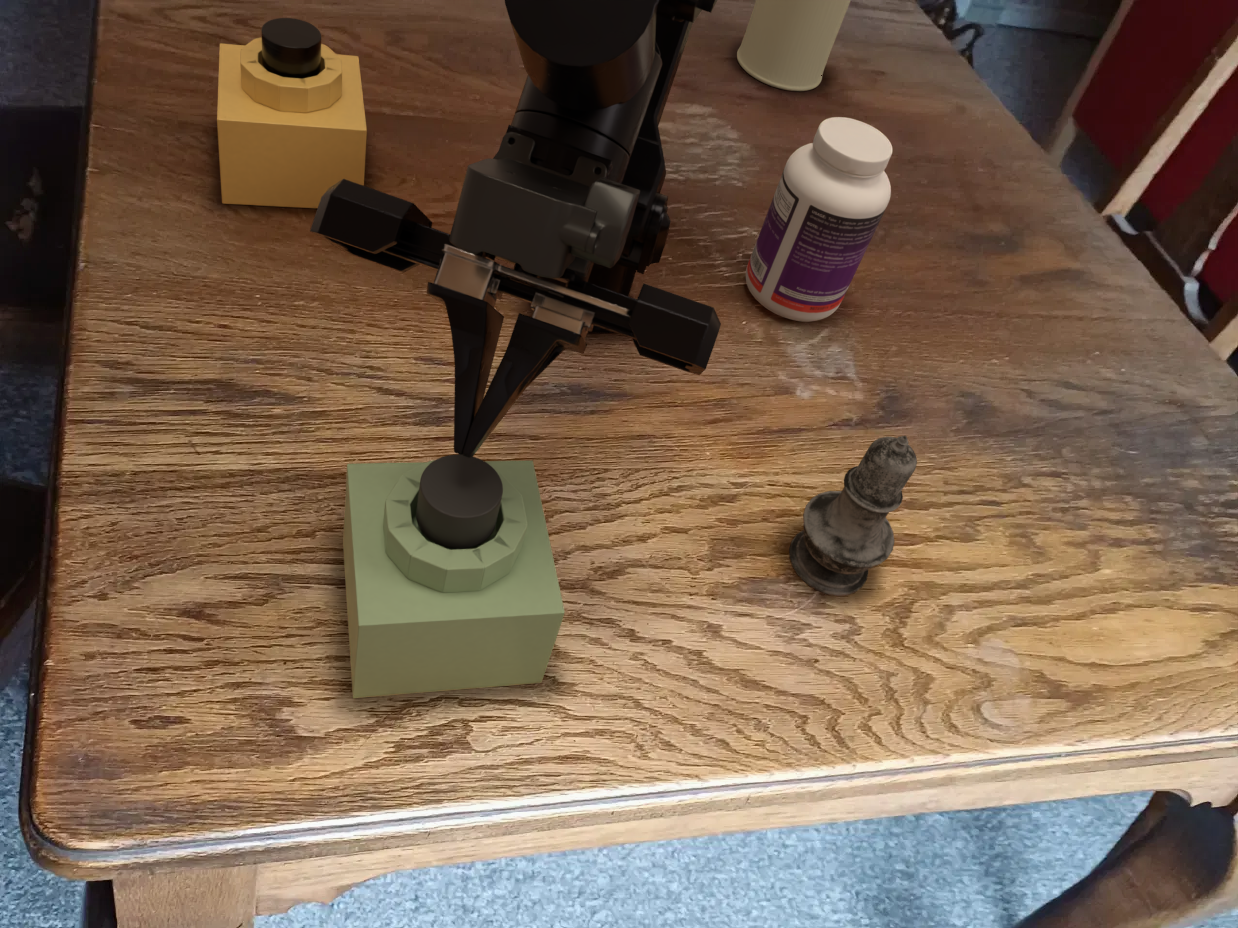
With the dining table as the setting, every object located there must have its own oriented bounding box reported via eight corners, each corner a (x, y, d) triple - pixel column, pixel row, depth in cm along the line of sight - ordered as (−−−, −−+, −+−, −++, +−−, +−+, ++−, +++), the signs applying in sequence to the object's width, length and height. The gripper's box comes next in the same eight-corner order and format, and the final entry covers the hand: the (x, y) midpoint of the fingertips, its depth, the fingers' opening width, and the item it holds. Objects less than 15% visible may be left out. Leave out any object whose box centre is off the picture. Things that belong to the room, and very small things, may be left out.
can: (725, 40, 113) (761, -75, 105) (803, 47, 116) (844, -64, 108) (752, 88, 108) (792, -30, 99) (833, 94, 111) (879, -19, 102)
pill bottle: (855, 304, 88) (931, 152, 77) (799, 342, 83) (873, 185, 72) (779, 249, 90) (843, 96, 80) (721, 283, 86) (781, 124, 75)
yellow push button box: (354, 135, 88) (359, 31, 81) (362, 211, 82) (368, 105, 75) (224, 126, 85) (218, 17, 78) (222, 203, 79) (215, 93, 72)
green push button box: (514, 535, 65) (538, 435, 58) (541, 683, 59) (572, 590, 52) (342, 542, 62) (348, 437, 55) (352, 698, 56) (360, 601, 49)
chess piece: (870, 611, 67) (956, 489, 58) (780, 583, 67) (853, 457, 58) (873, 539, 71) (954, 416, 62) (788, 514, 71) (857, 386, 62)
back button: (319, 54, 79) (320, 21, 77) (321, 83, 76) (322, 50, 74) (262, 48, 78) (261, 15, 76) (262, 78, 75) (261, 44, 73)
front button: (490, 485, 56) (497, 453, 54) (501, 547, 53) (508, 516, 51) (412, 487, 54) (416, 454, 53) (419, 551, 52) (424, 519, 50)
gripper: (333, 4, 42) (207, 381, 43) (784, 160, 42) (652, 537, 42) (398, 94, 53) (297, 392, 54) (754, 217, 53) (649, 515, 54)
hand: (463, 455), depth 51 cm, fingers closed
